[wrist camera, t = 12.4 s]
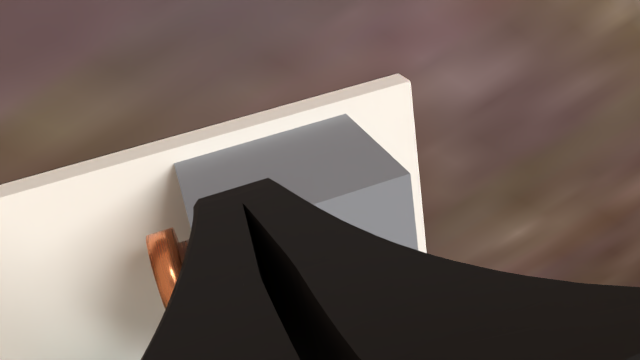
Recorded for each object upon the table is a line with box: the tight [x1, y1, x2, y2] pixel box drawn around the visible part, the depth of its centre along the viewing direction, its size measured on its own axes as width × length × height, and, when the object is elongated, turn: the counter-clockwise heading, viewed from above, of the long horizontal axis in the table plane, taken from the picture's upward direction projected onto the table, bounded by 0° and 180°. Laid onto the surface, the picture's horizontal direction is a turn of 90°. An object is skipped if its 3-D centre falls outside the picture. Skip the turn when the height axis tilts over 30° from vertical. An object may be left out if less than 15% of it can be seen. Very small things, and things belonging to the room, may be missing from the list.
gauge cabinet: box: [174, 114, 418, 250], centre depth 19 cm, size 6×5×5 cm
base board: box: [0, 74, 427, 360], centre depth 22 cm, size 19×13×1 cm
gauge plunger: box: [146, 227, 189, 310], centre depth 19 cm, size 6×3×3 cm, turn 100°
